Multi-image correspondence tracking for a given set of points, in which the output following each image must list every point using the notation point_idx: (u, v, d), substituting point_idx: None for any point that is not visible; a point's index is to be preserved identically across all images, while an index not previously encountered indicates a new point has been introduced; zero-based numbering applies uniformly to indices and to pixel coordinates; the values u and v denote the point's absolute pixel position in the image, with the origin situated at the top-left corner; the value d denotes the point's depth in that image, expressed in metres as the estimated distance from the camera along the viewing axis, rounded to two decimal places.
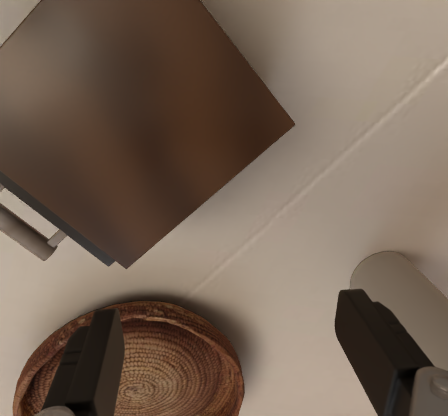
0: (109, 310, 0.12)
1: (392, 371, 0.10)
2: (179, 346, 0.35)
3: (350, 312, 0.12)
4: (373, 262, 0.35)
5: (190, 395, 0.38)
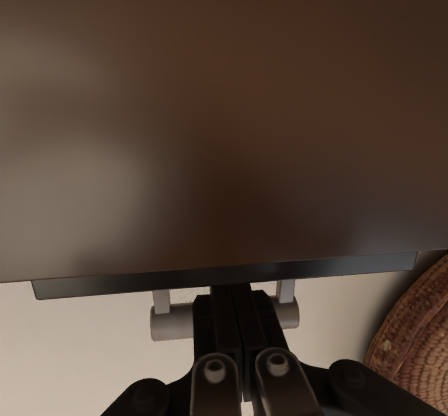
0: None
1: None
2: None
3: (232, 299, 0.13)
4: None
5: None
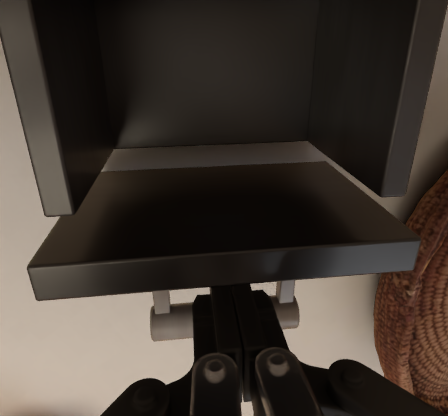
0: None
1: None
2: None
3: (232, 299, 0.13)
4: None
5: None
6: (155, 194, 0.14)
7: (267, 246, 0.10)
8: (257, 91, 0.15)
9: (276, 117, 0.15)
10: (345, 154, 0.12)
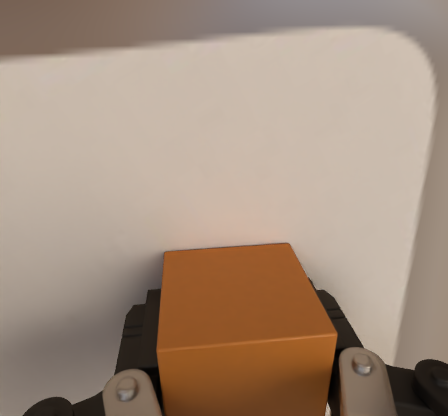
0: None
1: None
2: None
3: None
4: None
5: None
6: None
7: None
8: None
9: None
10: None
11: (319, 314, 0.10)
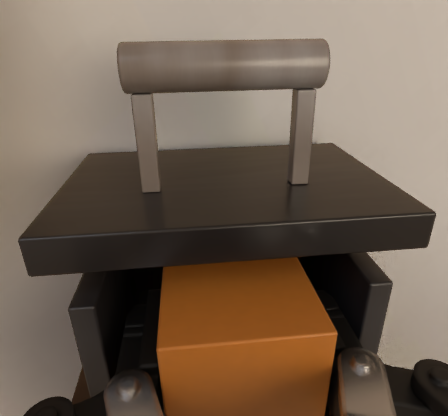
0: None
1: None
2: None
3: None
4: None
5: None
6: None
7: (203, 262, 0.10)
8: None
9: None
10: (112, 272, 0.13)
11: (319, 313, 0.10)
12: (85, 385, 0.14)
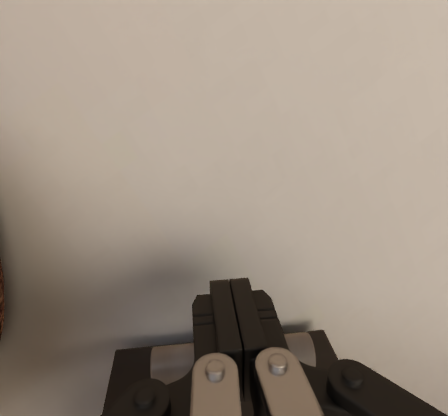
0: (223, 281, 0.13)
1: None
2: None
3: (232, 299, 0.13)
4: None
5: None
6: None
7: None
8: None
9: None
10: None
11: None
12: None
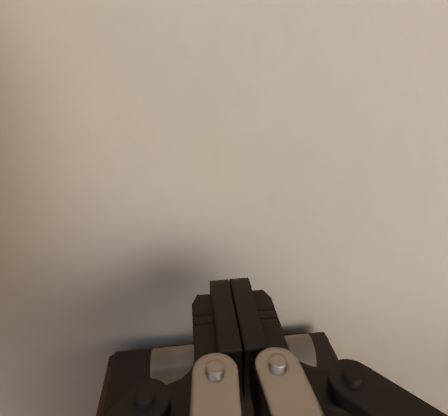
0: (223, 281, 0.13)
1: None
2: None
3: (232, 299, 0.13)
4: None
5: None
6: None
7: None
8: None
9: None
10: None
11: None
12: None
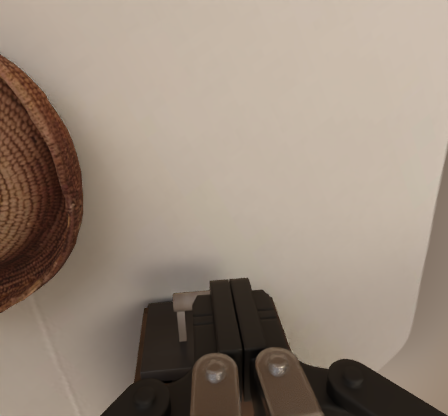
0: (223, 281, 0.13)
1: None
2: None
3: (232, 299, 0.13)
4: None
5: None
6: None
7: None
8: None
9: None
10: None
11: None
12: (141, 360, 0.29)
